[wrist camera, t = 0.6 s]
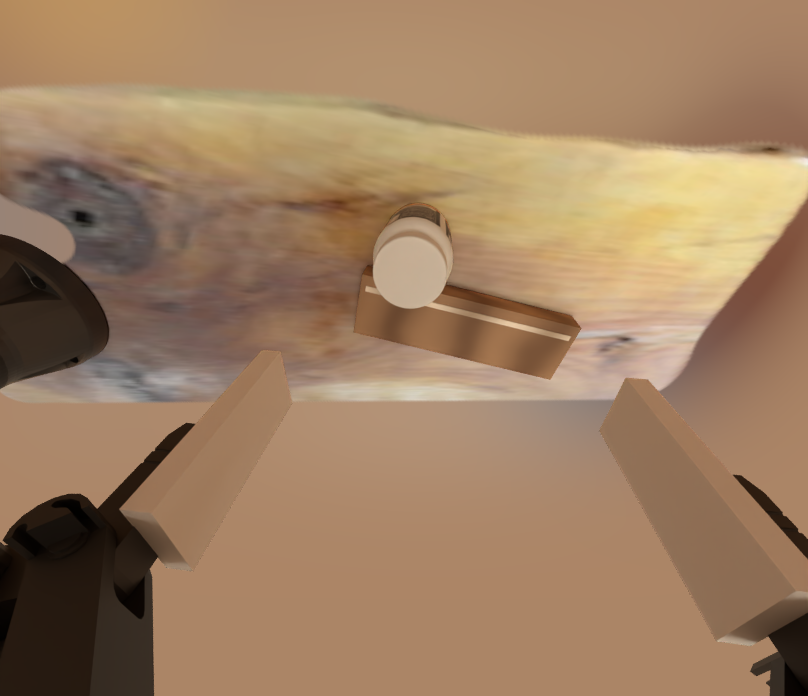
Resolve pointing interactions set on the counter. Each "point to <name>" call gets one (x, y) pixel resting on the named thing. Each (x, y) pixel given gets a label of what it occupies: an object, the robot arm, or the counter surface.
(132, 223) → the counter surface
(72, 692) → the robot arm
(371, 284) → the plank
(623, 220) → the counter surface
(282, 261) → the counter surface
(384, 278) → the pill bottle
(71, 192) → the counter surface
